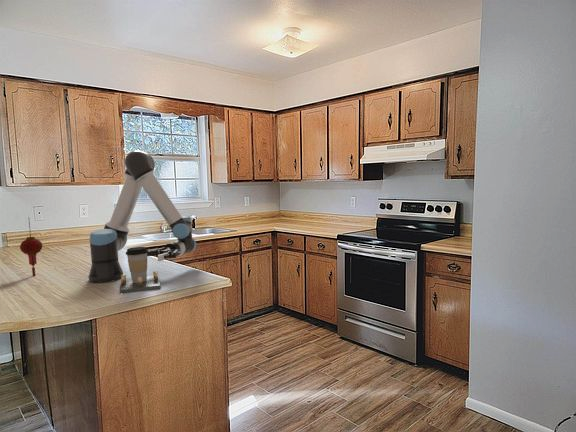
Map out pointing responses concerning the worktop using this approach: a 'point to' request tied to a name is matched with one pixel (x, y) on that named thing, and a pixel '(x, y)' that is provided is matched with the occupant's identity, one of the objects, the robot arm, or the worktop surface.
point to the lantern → (31, 249)
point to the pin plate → (140, 288)
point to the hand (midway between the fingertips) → (145, 257)
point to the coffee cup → (137, 263)
